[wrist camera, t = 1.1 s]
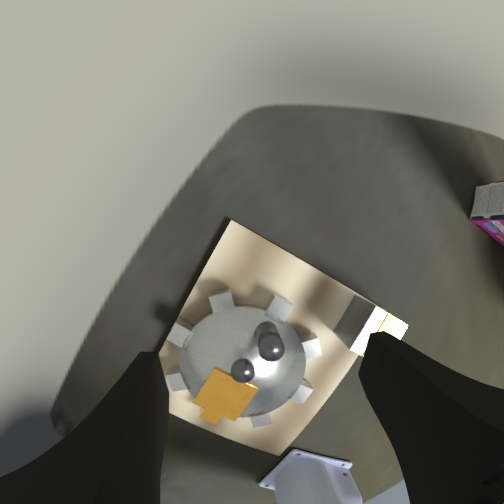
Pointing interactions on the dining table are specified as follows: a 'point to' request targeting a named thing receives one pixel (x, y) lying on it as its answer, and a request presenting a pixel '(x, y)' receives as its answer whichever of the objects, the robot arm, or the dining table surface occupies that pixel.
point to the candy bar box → (489, 209)
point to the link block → (365, 324)
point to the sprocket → (242, 359)
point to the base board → (301, 319)
